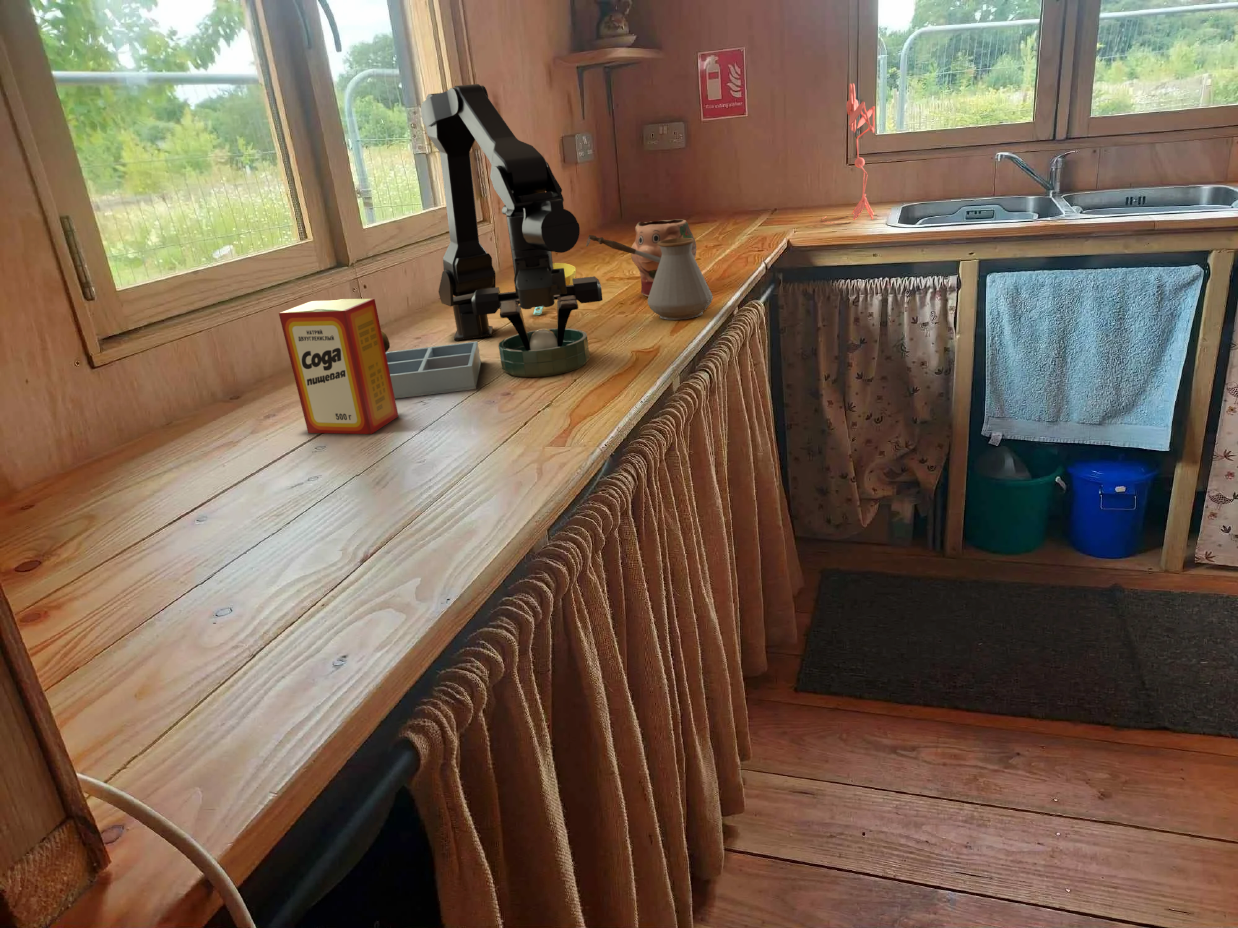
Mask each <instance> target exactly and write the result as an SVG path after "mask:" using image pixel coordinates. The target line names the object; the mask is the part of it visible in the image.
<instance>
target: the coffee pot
mask: <svg viewBox="0 0 1238 928" xmlns="http://www.w3.org/2000/svg"><path fill="white" fill-rule="evenodd" d="M591 241H593V242H598V244H599V245H605V246H608V247H609V248H611V249H613V250H617V251H620V252H624V253H628V254H630V255H631V254H636V255H639V256H641V257H644V258H647V259H650V260H652V261H655V262H658V263H659V266H658V269H657V272H656V275H655V278H654V281H653V285H652V288H651V291H650V294H649V296H647V297H648V298H647V306H648V308H649V309H650V310H651V311H652V312H653V313H655V314H656V315H658V316H659V318H660V319H662V320H666V321H667V320H668V321H676V320H677V321H678V320H679V321H680V320H687V319H688V320H689V319H694V318H697V317H700V316H702V315H703V314H704V311H706V310H707V309H708V308H709V307H710V305H711V304H712V301H713V299H714V295H713V293H712V291H711V289H710V287H709V284H708V282H707V281H706V279H705V276H704V274H703V272H702V270H701V268H700V267H699V265H698V264H699V263H698V262H697V261H696V257H695V258H694V256H693V254H692V252H691V250H692V243H693V242H694V241H695V242H696V239H695V240H694V239H693V238H674V239H667V240H663V241H659V242H657V245H658V246H660V249H661V252H662V256H661V257H657V256H654V255H651V254H647V253H644V252H641V251H638V250H636V249H633V248H631V247H632V246H628V245H625V244H623V243H622V242H621V243H620V242H618V241H616V240H609V239H605V238H604V237H603V236H601V237H598V236H596V235H592V234H589V235H588V237H587V240H586V244H585V247H587V248H588V247H589V245H590V242H591Z"/></svg>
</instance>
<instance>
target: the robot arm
mask: <svg viewBox="0 0 1238 928" xmlns="http://www.w3.org/2000/svg"><path fill="white" fill-rule="evenodd" d="M487 90H488V89H487V88H486V87H485V86H484V85H480V84H479V83H473V84H461V85H460V84H459V85H455V86H453V87H450V88H449V89H448V90H446V91H443V92H437V93H436V92H435V93H428V94H427V95H426V98H425V100H424V101H422V103H421V104H420V114H421V120H422V122H423V125H424V126H425V129H426V135H427V137H428V138H429V139H430V141H431V143H433V145H434V146H435V148H436V149H437V151H438V153H439V157H440V165H441V174H442V181H443V182H442V183H443V190H444V199H445V208H446V215H447V224H448V230H449V231H448V232H449V244H448V246H447V249H446V250H445V253H444V255H443V257H442V266H443V270H442V273H441V277H440V282H439V287H438V295H439V299H440V303H441V304H442V305H445V306H448V307H452V311H453V315H454V322H455V327H456V330H455V334H454V336H453V338H454V340H453V341H460V340H461V341H462V340H471V339H478V338H479V339H480V338H488V337H492V335H493V329H494V328H493V325H490V324H489V317H488V315H493V314H496V313H497V312H498V310H499V311H500V312H499V317H500V318H501V319H507V320H508V322H510V323H511V325H512V326H513V328H514V329H515V330H516V332H517V334H519V336H520V338H521V340H522V342H523V345H524V347H525V349H526V350H531V349H530V341H529V337H528V334H527V332H528V331H527V325H526V322H525V319H524V318H525V317H524V314H523V311H522V310H532V308H535V307H541V306H544V307H543V308H550V307H553V306H554V305H555V301H556V328H557V342H558V347H560V346H562V344H563V338H564V333H565V328H566V327H567V324H568V322H569V321H568V320H569V318H570V316H571V313H572V311H576V310H578V309H579V304H578V303H580V304H589V303H598V302H601V301H603V300H604V299H603V291H602V284H601V282H600V280H599V279H598V278H597V277H596V276H594V275H593V276H586V277H575V279H572V280H573V284H572V285H567V286H566V281H565V272H564V268H559V269H553V264H554V261H553V255H552V253H559V254H562V253H566V252H569V251H570V250H572V249H573V248H574V247H575V246H576V245H577V242H578V241H579V238H580V232H581V231H580V230H581V229H580V223H579V222H578V219H577V218H576V216H575V215H574V214H573V213H572V212H571V211H570V210H568V209H566V208H564V201H565V199H564V196H563V194H562V192H563V189H562V187H561V185H560V183H559V181H558V180H557V178H556V177H555V175H554V173H553V171H552V168H551V167H550V164H549V163H548V161H547V160H546V159H545V157H544V156H543V155H542V154H541V153H540V151H538V150H537V149H536V148H535V147H534V146H533V145H532V144H529V143H527V142H524V141H521V140H519V139H518V138H517V137H516V136H515V134H514V132H513V130H512V129H511V128H510V127H509V125H508V124H507V123H506V121H505V120H504V118H503V117H502V115H501V114H500V113H499V111H498V110H497V108H496V106H495V105H494V104H493V102H492V101H491V100H490V98H489V93H488V91H487ZM475 142H476V143H477V144H478V146H479V147H480V149H481V151H482V152H483V154H484V155H485V156H486V158H487V159H488V161H489V163H490V165H491V166H490V174H489V178H490V181H491V183H492V184H491V185H492V187H493V189H494V191H495V193H496V194H497V195H498V197H499V198H500V199H501V201H502V203H503V204H504V205H503V206H502V208H501V214H502V215H505V216H506V224H507V233H508V238H509V246H510V253H511V259H512V267H513V274H514V278H513V283H514V291H507V292H505V291H504V292H501V290H500V287H499V286H496V271H495V268H494V266H493V258H492V256H491V254H490V253H489V252H487V250H486V249H485V248H484V246H482V244H481V243H480V237H479V228H478V219H477V207H476V199H475V190H474V180H473V170H472V162H471V161H472V160H471V150H472V149H473V146H474V144H475Z"/></svg>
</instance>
